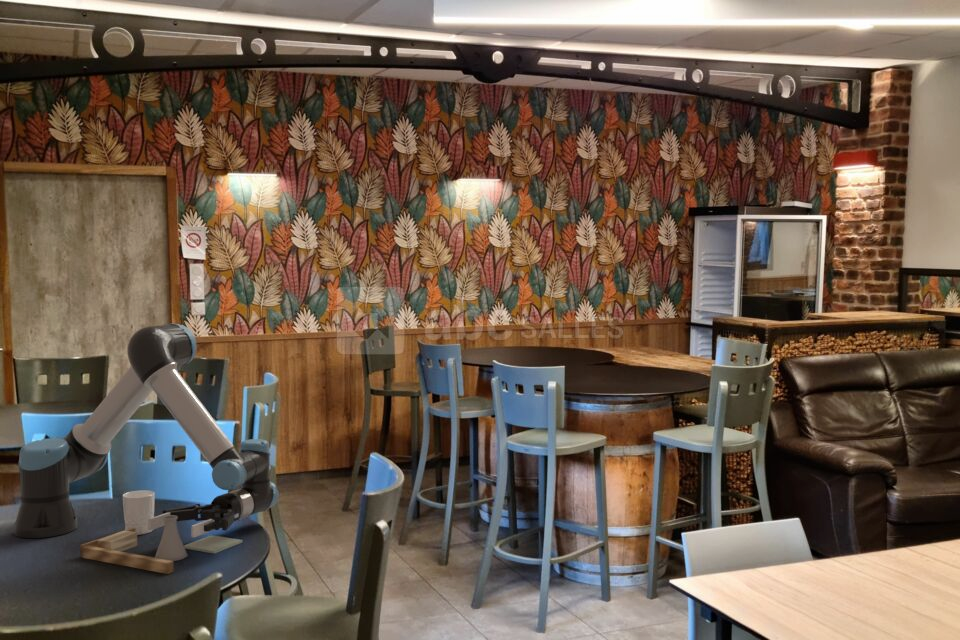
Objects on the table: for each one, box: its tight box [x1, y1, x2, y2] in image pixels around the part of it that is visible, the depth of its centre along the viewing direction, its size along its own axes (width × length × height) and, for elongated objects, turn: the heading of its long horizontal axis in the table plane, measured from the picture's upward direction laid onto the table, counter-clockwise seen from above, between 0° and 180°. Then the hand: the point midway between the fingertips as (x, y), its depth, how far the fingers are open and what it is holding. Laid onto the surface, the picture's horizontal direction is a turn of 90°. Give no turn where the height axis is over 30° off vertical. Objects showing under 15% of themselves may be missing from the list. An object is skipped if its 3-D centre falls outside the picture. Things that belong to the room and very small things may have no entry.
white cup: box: [122, 489, 156, 536], centre depth 240 cm, size 8×8×10 cm
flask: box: [154, 515, 188, 562], centre depth 217 cm, size 7×7×10 cm
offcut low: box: [114, 539, 138, 552], centre depth 224 cm, size 4×9×2 cm, turn 154°
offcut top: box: [98, 530, 138, 550], centre depth 224 cm, size 4×9×2 cm, turn 161°
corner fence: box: [79, 528, 174, 575], centre depth 219 cm, size 28×16×3 cm, turn 64°
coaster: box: [183, 534, 243, 554], centre depth 228 cm, size 10×10×1 cm
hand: (170, 528), depth 217 cm, fingers open, 13 cm apart
